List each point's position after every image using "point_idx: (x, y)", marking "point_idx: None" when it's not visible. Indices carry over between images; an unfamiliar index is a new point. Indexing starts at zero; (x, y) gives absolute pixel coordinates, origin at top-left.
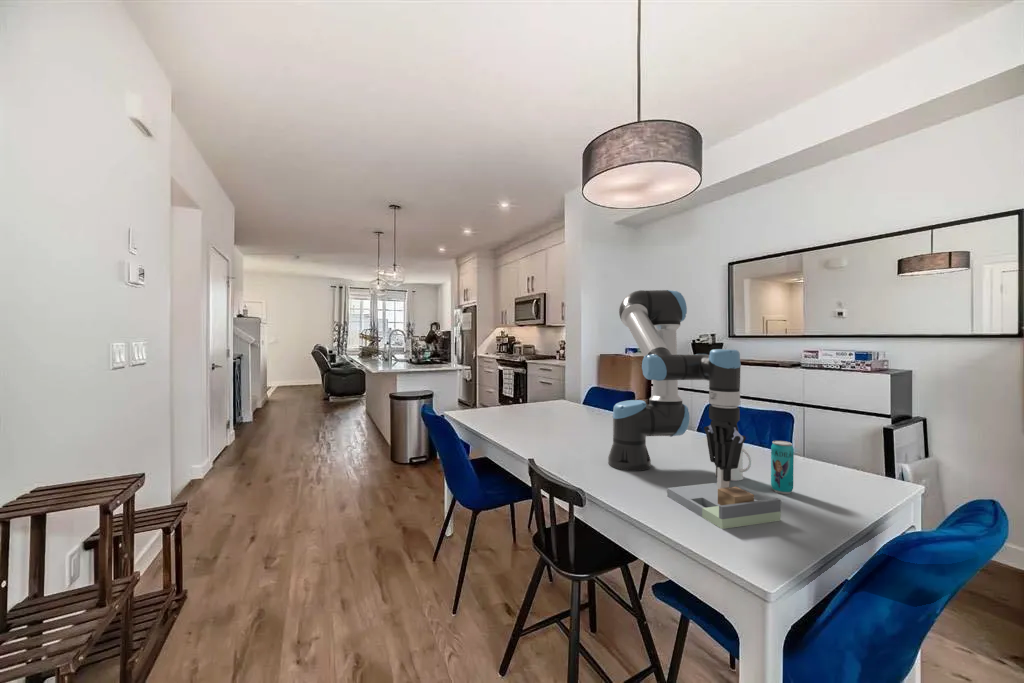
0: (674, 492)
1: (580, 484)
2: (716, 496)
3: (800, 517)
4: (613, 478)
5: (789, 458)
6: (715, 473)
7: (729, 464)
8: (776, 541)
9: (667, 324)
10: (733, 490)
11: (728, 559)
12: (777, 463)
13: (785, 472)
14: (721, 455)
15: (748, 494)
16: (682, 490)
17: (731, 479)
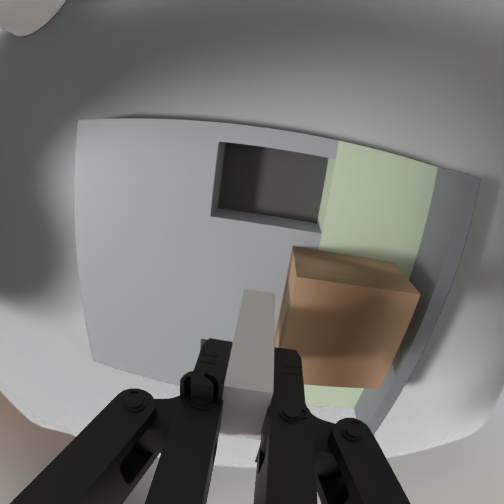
0: (129, 371)
1: (43, 420)
2: (210, 279)
3: (439, 71)
4: (3, 350)
5: None
6: (12, 33)
7: (339, 488)
8: (473, 318)
9: None
10: (328, 338)
11: (423, 439)
12: None
13: None
14: (205, 496)
15: (402, 316)
16: (119, 341)
17: (61, 4)
